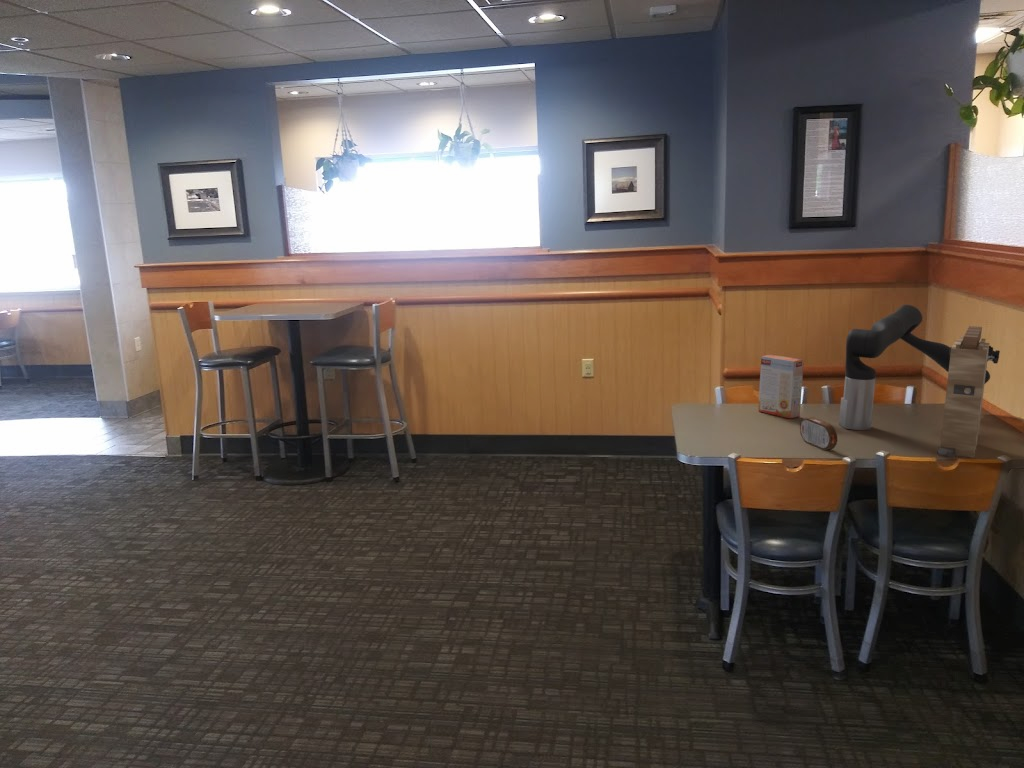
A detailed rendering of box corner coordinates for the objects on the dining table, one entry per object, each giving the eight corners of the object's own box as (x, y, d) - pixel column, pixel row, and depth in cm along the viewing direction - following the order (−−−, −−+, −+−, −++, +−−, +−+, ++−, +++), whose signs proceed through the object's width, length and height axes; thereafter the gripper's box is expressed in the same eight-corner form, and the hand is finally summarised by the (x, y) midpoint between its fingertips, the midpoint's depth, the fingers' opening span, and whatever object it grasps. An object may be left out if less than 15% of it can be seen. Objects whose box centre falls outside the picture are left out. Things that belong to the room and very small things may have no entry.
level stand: (943, 439, 246) (954, 336, 239) (977, 444, 241) (990, 339, 234) (936, 457, 229) (948, 346, 222) (972, 462, 224) (986, 349, 217)
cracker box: (800, 416, 276) (804, 359, 271) (790, 419, 272) (794, 361, 268) (768, 409, 287) (771, 353, 283) (757, 411, 284) (760, 355, 279)
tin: (837, 452, 235) (839, 425, 233) (828, 453, 234) (830, 426, 232) (805, 439, 249) (807, 413, 247) (797, 439, 248) (799, 414, 246)
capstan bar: (967, 337, 245) (969, 326, 245) (980, 337, 244) (982, 326, 243) (962, 348, 226) (963, 336, 225) (976, 349, 224) (977, 337, 223)
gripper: (951, 352, 269) (950, 334, 256) (999, 356, 262) (1001, 338, 248) (948, 372, 268) (947, 355, 254) (996, 376, 260) (998, 359, 247)
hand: (974, 347), depth 251 cm, fingers open, 8 cm apart
